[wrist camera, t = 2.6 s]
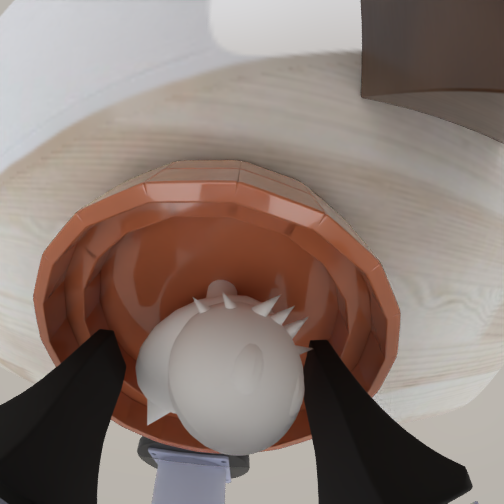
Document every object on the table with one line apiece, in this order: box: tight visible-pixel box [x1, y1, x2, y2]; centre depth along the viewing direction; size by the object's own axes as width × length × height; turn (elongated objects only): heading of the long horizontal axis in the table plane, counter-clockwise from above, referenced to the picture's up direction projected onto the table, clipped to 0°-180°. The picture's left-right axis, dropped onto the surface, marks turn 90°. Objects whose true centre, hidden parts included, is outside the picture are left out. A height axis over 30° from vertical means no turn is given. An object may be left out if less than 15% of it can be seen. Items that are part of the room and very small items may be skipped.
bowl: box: [33, 160, 400, 454], centre depth 10 cm, size 13×13×4 cm
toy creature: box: [135, 280, 313, 456], centre depth 9 cm, size 5×8×6 cm, turn 136°
